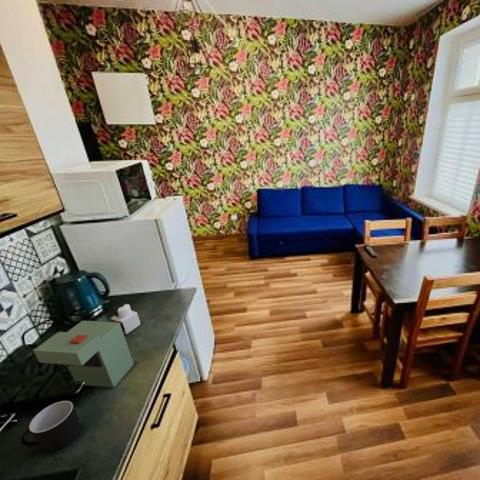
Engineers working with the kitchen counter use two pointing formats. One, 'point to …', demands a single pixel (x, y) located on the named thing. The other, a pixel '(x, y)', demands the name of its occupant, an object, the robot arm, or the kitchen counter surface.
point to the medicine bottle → (125, 317)
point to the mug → (54, 426)
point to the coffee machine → (89, 352)
